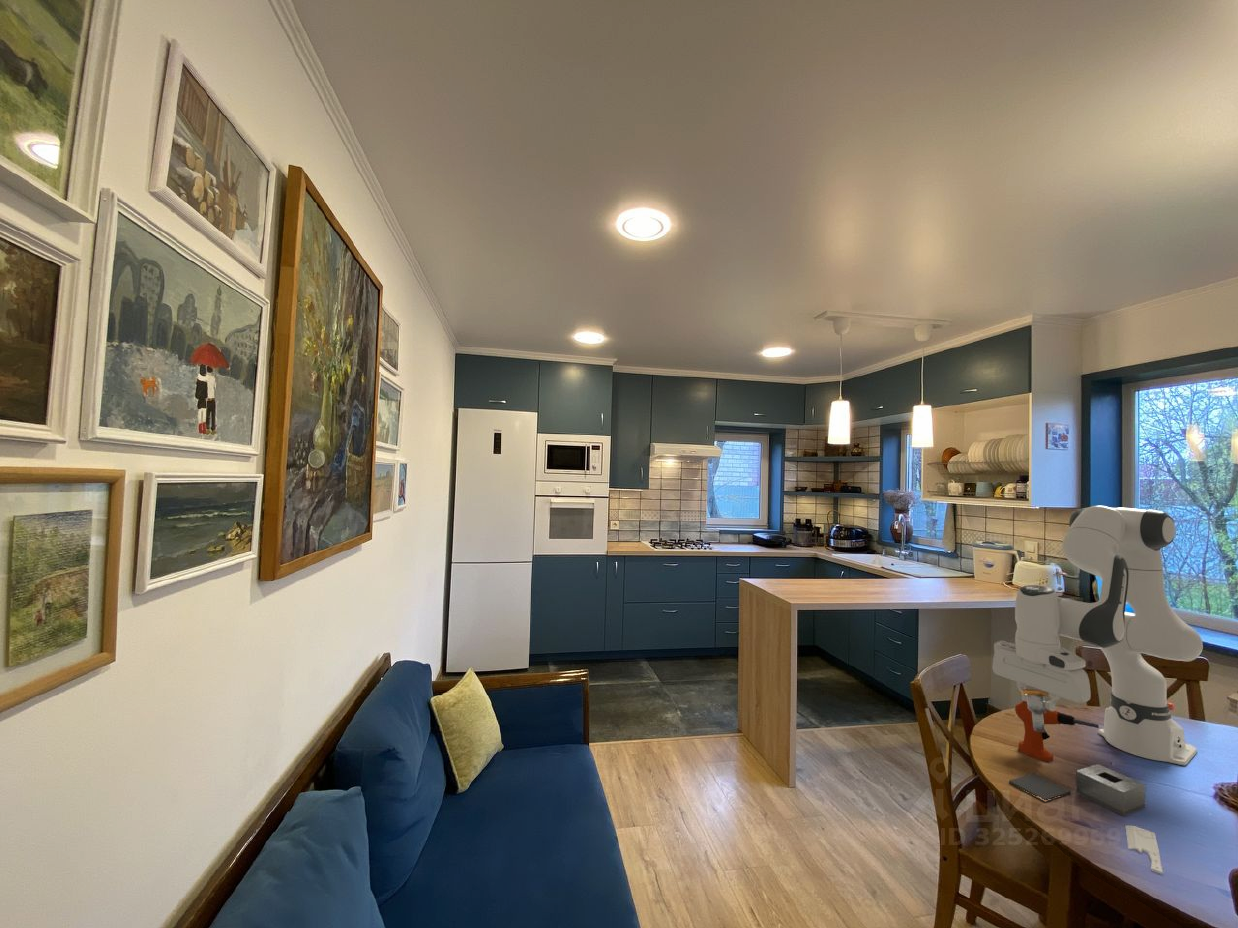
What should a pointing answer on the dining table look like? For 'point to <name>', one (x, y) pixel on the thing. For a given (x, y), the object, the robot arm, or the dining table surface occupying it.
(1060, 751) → the dining table surface
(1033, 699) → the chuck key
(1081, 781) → the block
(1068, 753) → the dining table surface
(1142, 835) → the cream flat piece
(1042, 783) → the rubber mat
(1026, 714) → the toy drill
